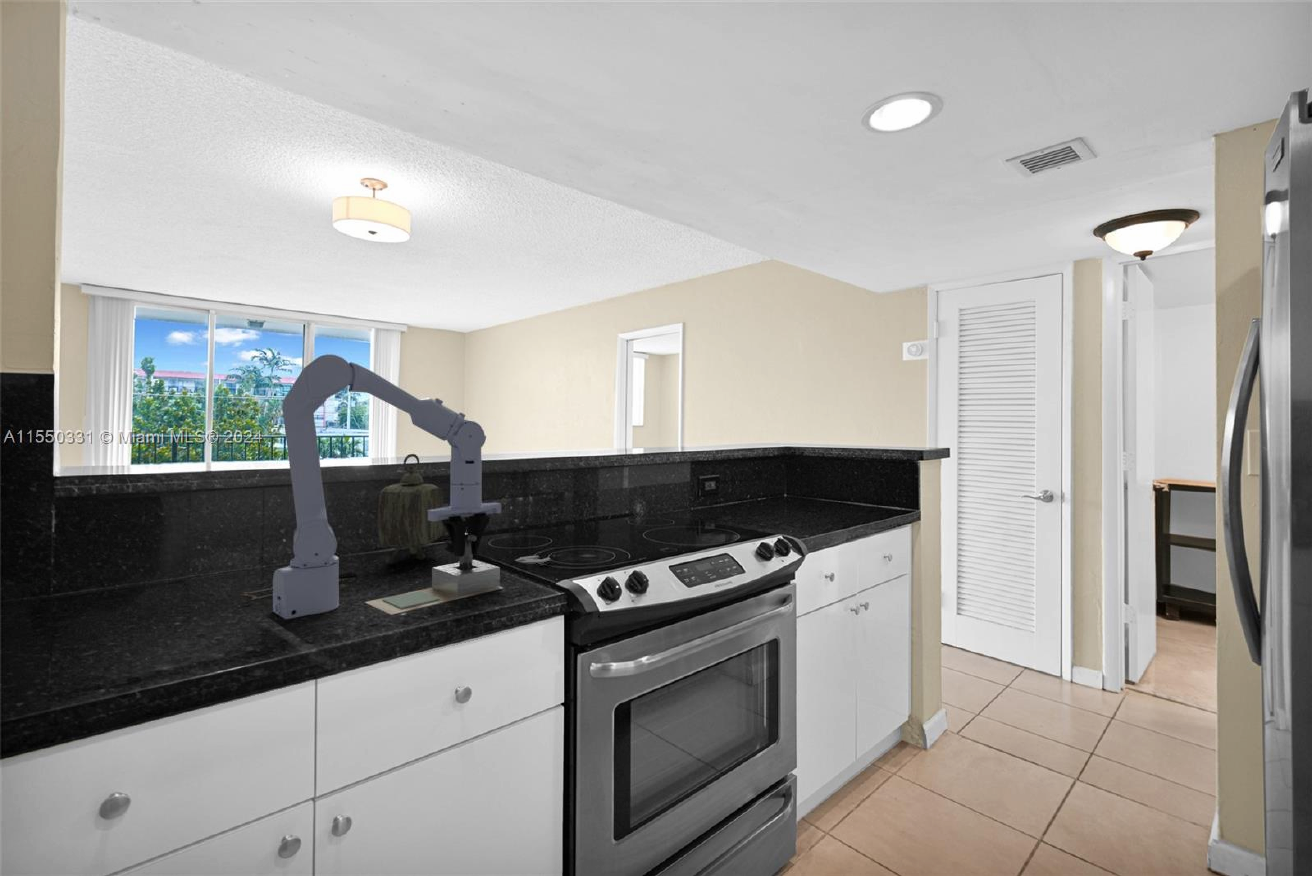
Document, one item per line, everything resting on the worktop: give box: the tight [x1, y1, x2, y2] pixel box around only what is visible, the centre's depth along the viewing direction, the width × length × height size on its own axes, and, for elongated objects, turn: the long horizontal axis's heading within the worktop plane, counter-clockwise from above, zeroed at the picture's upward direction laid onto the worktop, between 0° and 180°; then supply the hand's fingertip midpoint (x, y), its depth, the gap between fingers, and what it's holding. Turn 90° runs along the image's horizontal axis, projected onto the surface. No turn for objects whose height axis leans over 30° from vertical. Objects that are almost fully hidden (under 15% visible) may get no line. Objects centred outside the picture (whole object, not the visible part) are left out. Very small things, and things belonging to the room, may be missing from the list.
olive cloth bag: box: [377, 453, 444, 565], centre depth 146 cm, size 14×9×25 cm, turn 174°
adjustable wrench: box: [514, 555, 550, 565], centre depth 138 cm, size 25×6×2 cm, turn 123°
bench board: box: [364, 586, 503, 616], centre depth 114 cm, size 22×10×1 cm, turn 139°
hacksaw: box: [232, 569, 359, 608], centre depth 121 cm, size 24×10×2 cm, turn 136°
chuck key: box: [458, 532, 477, 571], centre depth 118 cm, size 2×6×7 cm, turn 49°
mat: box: [382, 590, 439, 609], centre depth 110 cm, size 7×7×1 cm
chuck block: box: [431, 559, 501, 598], centre depth 118 cm, size 9×9×4 cm
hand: (465, 554), depth 118 cm, fingers closed on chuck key, 2 cm apart
